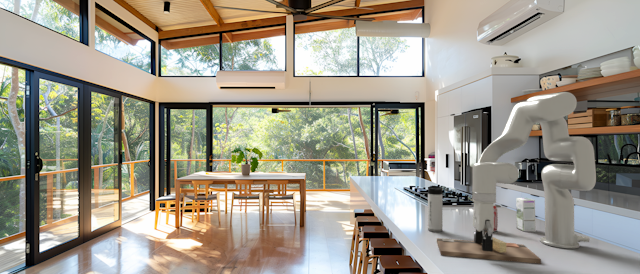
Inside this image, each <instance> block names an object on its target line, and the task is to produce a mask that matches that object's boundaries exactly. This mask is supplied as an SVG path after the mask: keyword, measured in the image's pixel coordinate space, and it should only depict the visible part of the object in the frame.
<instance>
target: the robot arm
mask: <svg viewBox="0 0 640 274" xmlns="http://www.w3.org/2000/svg"><path fill="white" fill-rule="evenodd" d="M577 103H578V101H577V98H576V96H575V95H574V94H573V93H571V92H569V91H561V92H553V93H546V94H539V95H534V96H531V97H529V98H528V99H526V100H524V101H519V102H518V103H515V105H514V106H513V107H512V110H511V111H510V114H509V116H508V119H507V121H506V124H505V126H504V128H503V131H502V133H501V134H500V136H499V137H497V138H496V139H494V140H493V141H492V142H491V143H490V144H488V146H487V147H486V148H485V149H484V150H483V151H482V154H480V158H479V159H478V161H477V162H474V163H473V164H472V191H471V192H472V194H471V195H472V197H471V198H472V202H473V211H472V212H473V215H472V226H473V228H474V230H475V231H476V239H475V242H476V243H481V244H482V250H483V251H490V252H492V251H493V237H494V236H493V233H494V232H493V231H494V209H493V204H497V184H504V185H506V184H507V185H509V184H513V183H515V182H517V180H518V179H519V177H520V172H519V169H518V167H517V166H516V165H514V164H513V163H510V162H500V161H498V160H499V159H500V158H501V157H502V156H503V155H505V154H506V153H509V152H511V151H514V150H516V149H518V148H520V147H523V146H525V144H527V142H528V140H529V137H530V135H531V132H532V130H533V127H534V125H535V124H538V123H539V125H540V127H541V134H542V143H543V144H542V146H543V147H542V148H543V153H544V156H545V158H546V159H548V160H549V161H556V162H573V164H569V163H568V164H566V163H565V164H564V163H552V164H548V165H545V166H544V167H543V168H542V170H541V180H542V186H543V193H544V237H543V236H542V237H540V240H539V241H540V242H541V243H542V244H544V245H547V246H550V247H554V248H555V247H556V248H559V249H572V250H573V249H579V248H580V245H581V244H580V242H583V243H589V242H590V241H591V240H590V237H589V236H582V235H578V234H576V233H575V200H574V198H573V195H572V193H571V192H570V190H571V191H572V190H573V191H583V192H587V191H591V190H592V189H594V187H595V185H596V182H597V173H596V170H597V169H596V161H595V160H596V159H595V158H596V157H595V149H594V145H593V144H592V142H591V140H589V139H588V138H587V137H584V136H570V134H569V128H568V127H569V126H568V123H567V120H566V119H565V118H564V117H566V116H569V115H571V114H572V113H574V111H575V110H576V108H577V106H578V104H577ZM485 234H486V235H485Z"/></svg>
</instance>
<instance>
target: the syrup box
mask: <svg viewBox="0 0 640 274" xmlns="http://www.w3.org/2000/svg"><path fill="white" fill-rule="evenodd" d="M515 200H516V201H515V202H516V204H515V205H516V206H515V207H516V208H515V209H516V229H518V230H520V231H522V232H527V233H528V232H529V233H531V232H532V233H533V232H536V231H537V230H536V200H535V199H533V198H528V197H516V198H515Z"/></svg>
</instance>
